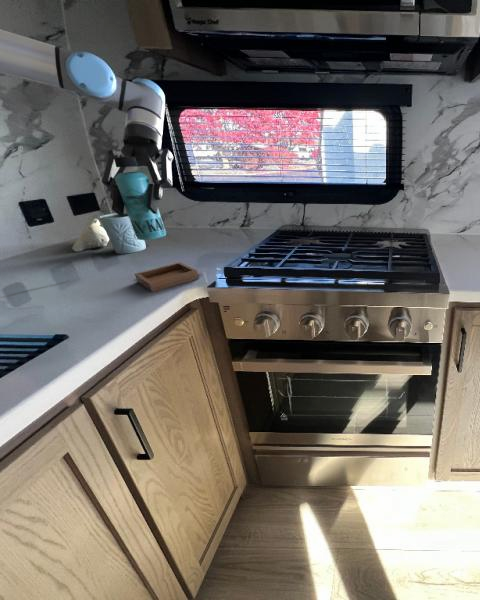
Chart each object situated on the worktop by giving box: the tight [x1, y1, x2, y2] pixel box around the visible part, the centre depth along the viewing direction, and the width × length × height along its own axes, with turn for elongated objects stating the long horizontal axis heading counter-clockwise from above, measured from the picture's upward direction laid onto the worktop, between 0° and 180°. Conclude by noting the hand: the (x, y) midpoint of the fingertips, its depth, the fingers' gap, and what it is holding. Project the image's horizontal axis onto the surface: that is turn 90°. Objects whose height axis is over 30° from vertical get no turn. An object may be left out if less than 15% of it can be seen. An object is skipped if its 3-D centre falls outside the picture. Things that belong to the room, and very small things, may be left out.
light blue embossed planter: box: [99, 211, 147, 255], centre depth 112 cm, size 10×10×12 cm
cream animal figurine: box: [71, 218, 110, 252], centre depth 118 cm, size 15×7×15 cm
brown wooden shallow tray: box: [134, 262, 200, 293], centre depth 88 cm, size 11×11×2 cm
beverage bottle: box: [114, 156, 167, 241], centre depth 79 cm, size 6×7×20 cm
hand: (134, 211), depth 77 cm, fingers closed on beverage bottle, 7 cm apart
